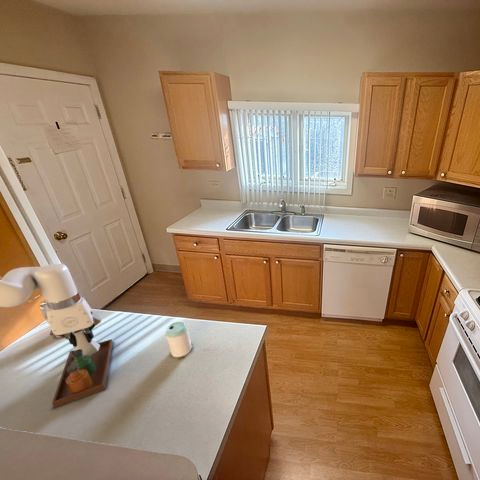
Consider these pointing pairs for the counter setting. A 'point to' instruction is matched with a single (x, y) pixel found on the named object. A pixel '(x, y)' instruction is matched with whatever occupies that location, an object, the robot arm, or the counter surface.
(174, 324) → the can
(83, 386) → the amber bottle
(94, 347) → the flask
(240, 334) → the counter surface
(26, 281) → the robot arm
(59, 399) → the tray
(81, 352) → the green bottle
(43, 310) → the beer glass
